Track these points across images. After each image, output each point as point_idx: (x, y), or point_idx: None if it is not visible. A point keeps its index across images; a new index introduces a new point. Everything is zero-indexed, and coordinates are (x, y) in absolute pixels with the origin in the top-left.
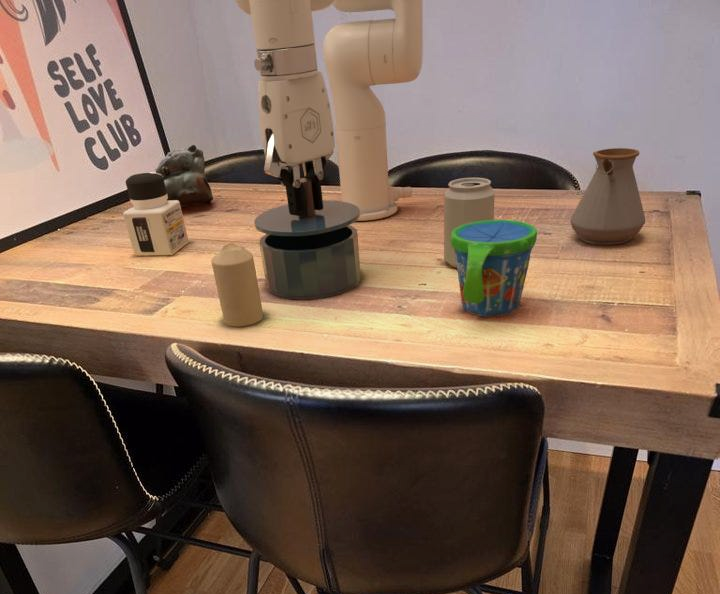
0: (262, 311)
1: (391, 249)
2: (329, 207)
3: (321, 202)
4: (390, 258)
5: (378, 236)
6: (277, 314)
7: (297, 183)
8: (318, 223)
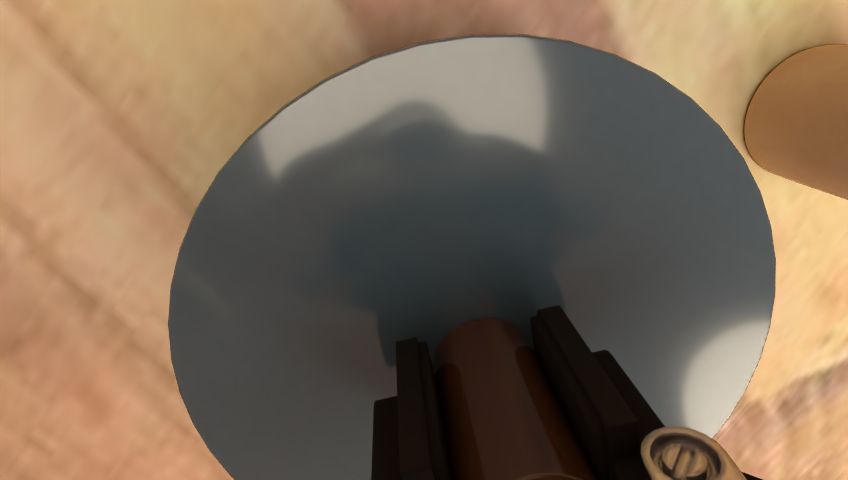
0: (779, 77)
1: (52, 284)
2: (312, 381)
3: (409, 358)
4: (105, 209)
5: (28, 419)
6: (722, 59)
7: (679, 459)
8: (554, 173)
